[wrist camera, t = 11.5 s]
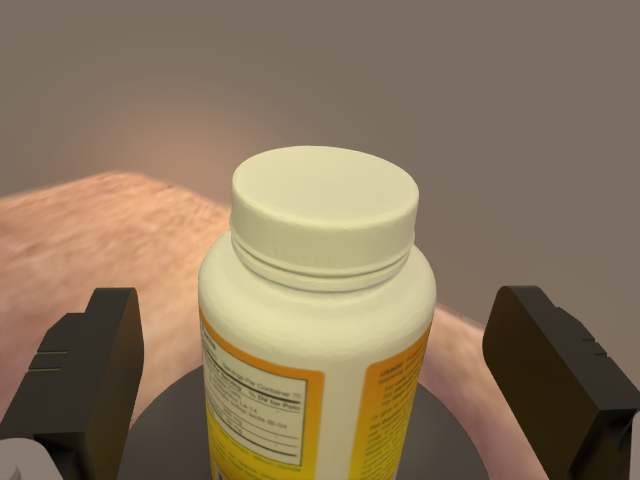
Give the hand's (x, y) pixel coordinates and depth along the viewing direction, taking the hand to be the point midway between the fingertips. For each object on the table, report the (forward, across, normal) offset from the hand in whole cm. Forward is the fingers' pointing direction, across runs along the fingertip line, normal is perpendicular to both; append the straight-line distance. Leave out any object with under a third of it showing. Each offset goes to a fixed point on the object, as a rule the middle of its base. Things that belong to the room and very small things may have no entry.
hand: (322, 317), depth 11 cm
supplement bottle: (+1, 0, +8) cm, 8 cm away
